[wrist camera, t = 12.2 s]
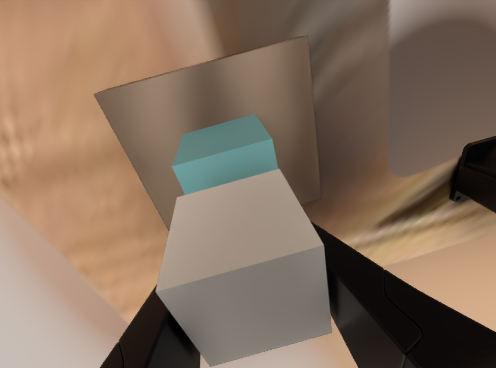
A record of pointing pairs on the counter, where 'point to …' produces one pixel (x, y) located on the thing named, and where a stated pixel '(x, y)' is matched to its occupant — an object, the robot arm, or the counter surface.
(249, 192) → the cream block
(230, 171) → the teal block
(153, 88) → the walnut base
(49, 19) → the counter surface
